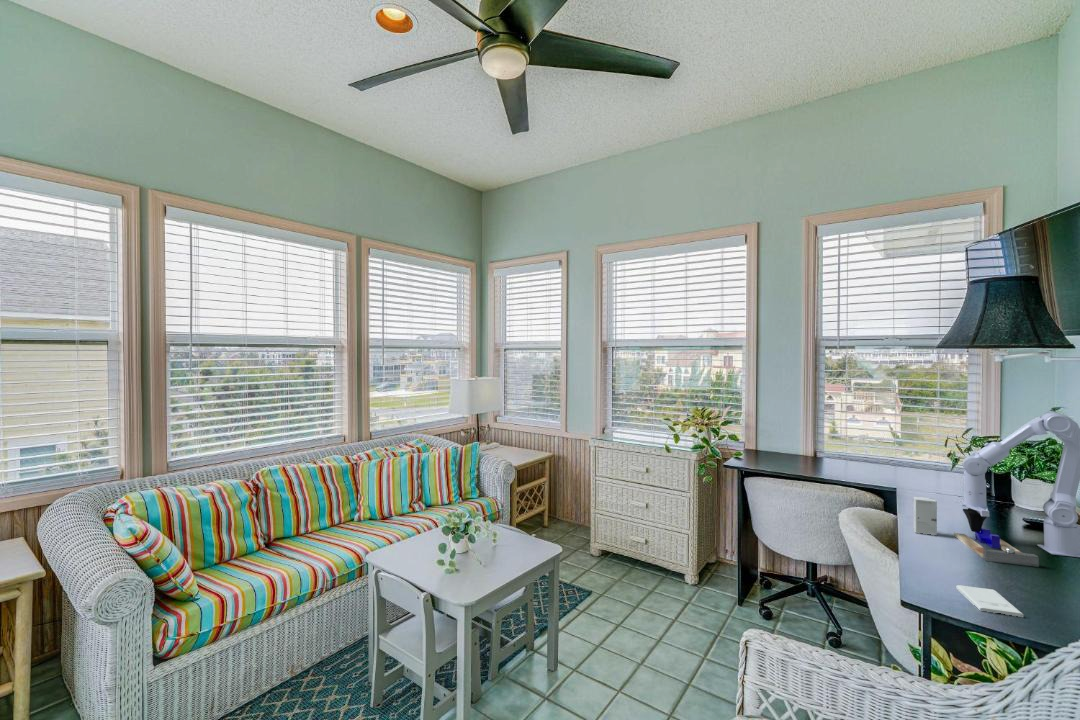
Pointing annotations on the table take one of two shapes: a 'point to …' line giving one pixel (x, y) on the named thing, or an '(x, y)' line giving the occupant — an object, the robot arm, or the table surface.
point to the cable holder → (988, 538)
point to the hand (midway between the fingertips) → (975, 531)
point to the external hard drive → (988, 600)
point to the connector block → (1011, 557)
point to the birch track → (977, 547)
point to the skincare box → (925, 515)
